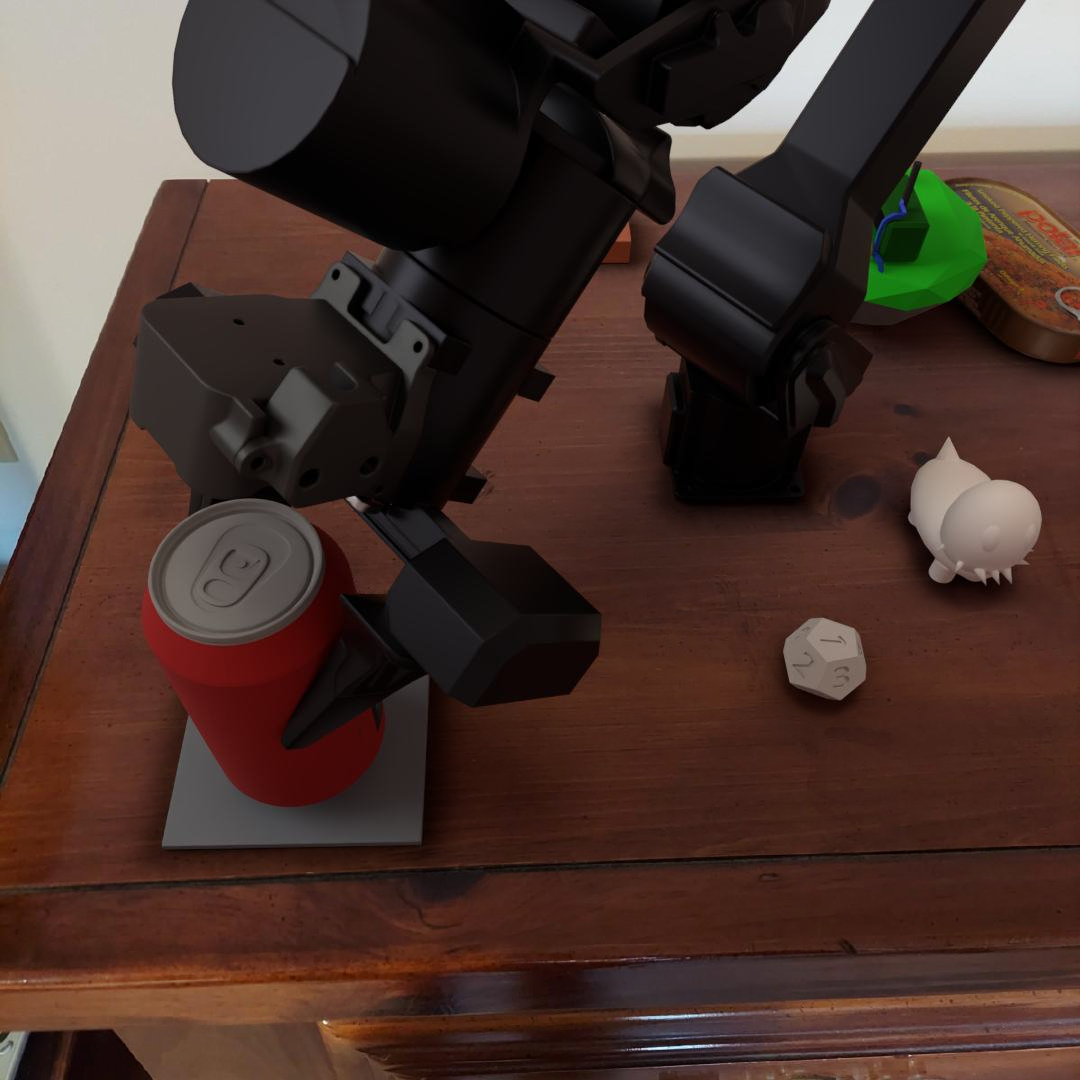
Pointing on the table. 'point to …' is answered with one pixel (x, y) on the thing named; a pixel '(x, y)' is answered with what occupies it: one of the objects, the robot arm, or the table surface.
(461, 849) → the table surface
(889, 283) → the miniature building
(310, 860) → the table surface
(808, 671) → the game die
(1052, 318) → the tin
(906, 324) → the table surface
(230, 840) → the grey mat
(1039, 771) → the table surface
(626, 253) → the terracotta tile
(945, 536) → the toy creature
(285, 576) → the beverage can
